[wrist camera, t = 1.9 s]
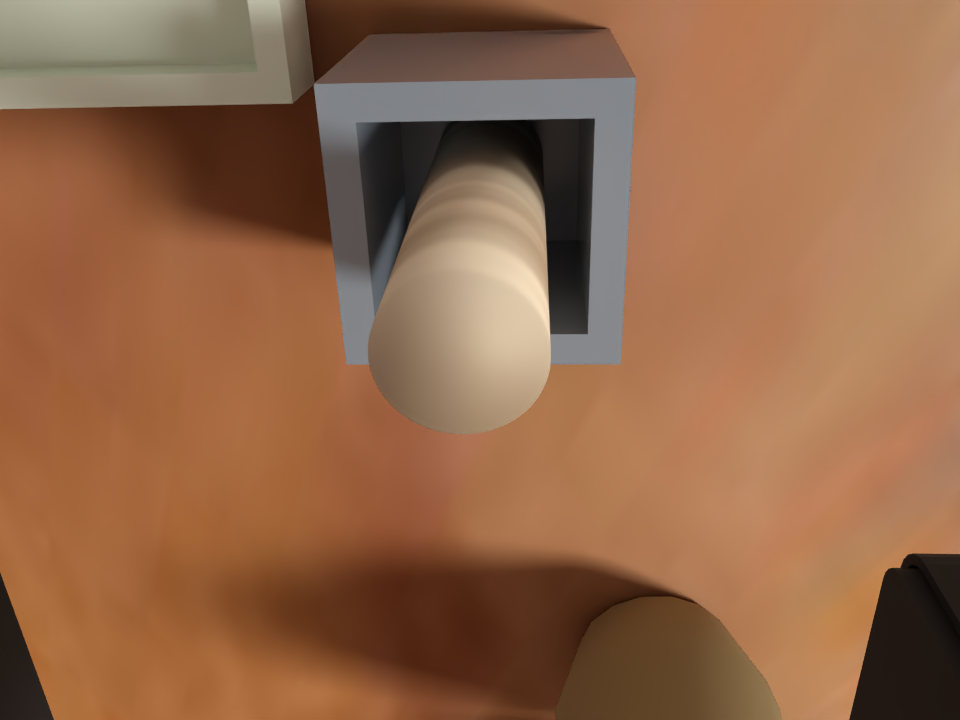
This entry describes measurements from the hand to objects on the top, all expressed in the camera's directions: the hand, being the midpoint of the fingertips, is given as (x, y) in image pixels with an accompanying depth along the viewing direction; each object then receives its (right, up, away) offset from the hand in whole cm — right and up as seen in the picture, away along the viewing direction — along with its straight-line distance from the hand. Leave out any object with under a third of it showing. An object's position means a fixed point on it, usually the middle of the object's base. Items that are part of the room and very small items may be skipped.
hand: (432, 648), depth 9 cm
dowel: (+1, +9, +15) cm, 18 cm away
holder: (+1, +9, +16) cm, 19 cm away
